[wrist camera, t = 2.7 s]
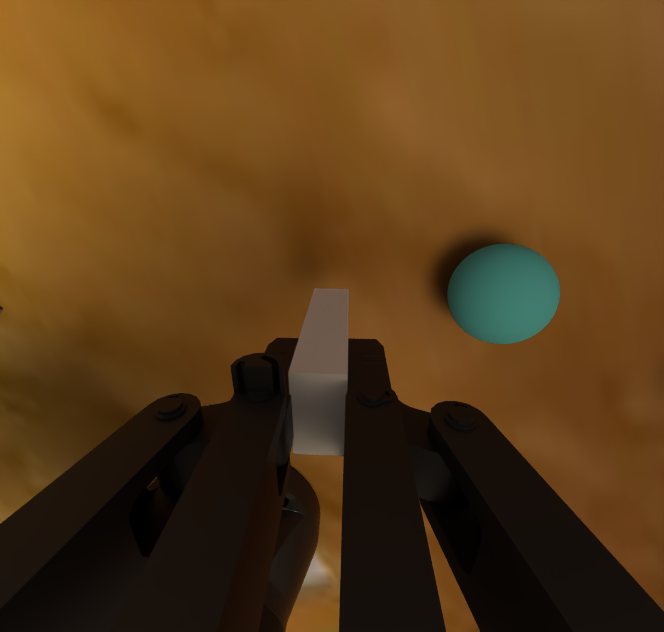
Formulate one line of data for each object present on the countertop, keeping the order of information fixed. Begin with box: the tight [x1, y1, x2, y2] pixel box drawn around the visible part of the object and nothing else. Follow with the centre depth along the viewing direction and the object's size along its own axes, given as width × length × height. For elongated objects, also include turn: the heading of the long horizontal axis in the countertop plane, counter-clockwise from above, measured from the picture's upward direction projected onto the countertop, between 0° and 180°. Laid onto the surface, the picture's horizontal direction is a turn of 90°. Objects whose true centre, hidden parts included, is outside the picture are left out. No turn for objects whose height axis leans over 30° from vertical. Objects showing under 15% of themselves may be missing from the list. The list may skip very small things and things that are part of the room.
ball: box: [447, 244, 560, 344], centre depth 18 cm, size 6×6×6 cm
